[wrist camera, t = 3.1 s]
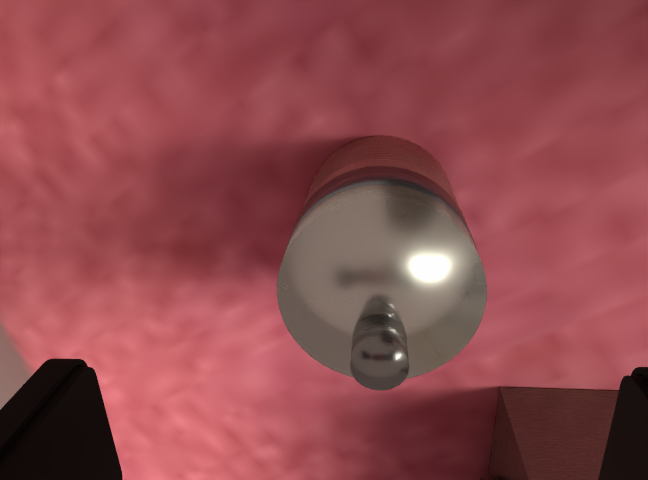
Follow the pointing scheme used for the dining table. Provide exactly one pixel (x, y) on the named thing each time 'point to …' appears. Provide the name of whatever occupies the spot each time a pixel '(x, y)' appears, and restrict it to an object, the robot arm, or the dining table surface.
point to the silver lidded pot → (381, 266)
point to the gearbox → (550, 433)
